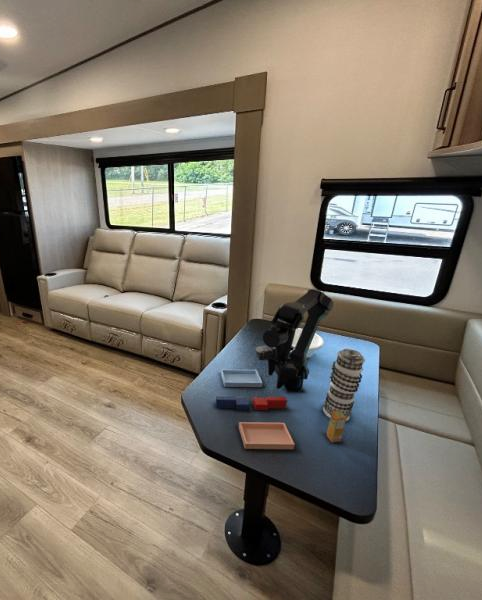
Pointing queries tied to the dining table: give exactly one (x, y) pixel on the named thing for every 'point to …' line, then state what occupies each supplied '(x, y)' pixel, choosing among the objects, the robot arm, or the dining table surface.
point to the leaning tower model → (344, 382)
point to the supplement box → (336, 426)
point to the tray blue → (241, 378)
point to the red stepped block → (269, 403)
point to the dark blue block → (232, 402)
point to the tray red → (265, 435)
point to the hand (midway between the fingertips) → (273, 381)
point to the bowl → (314, 345)
